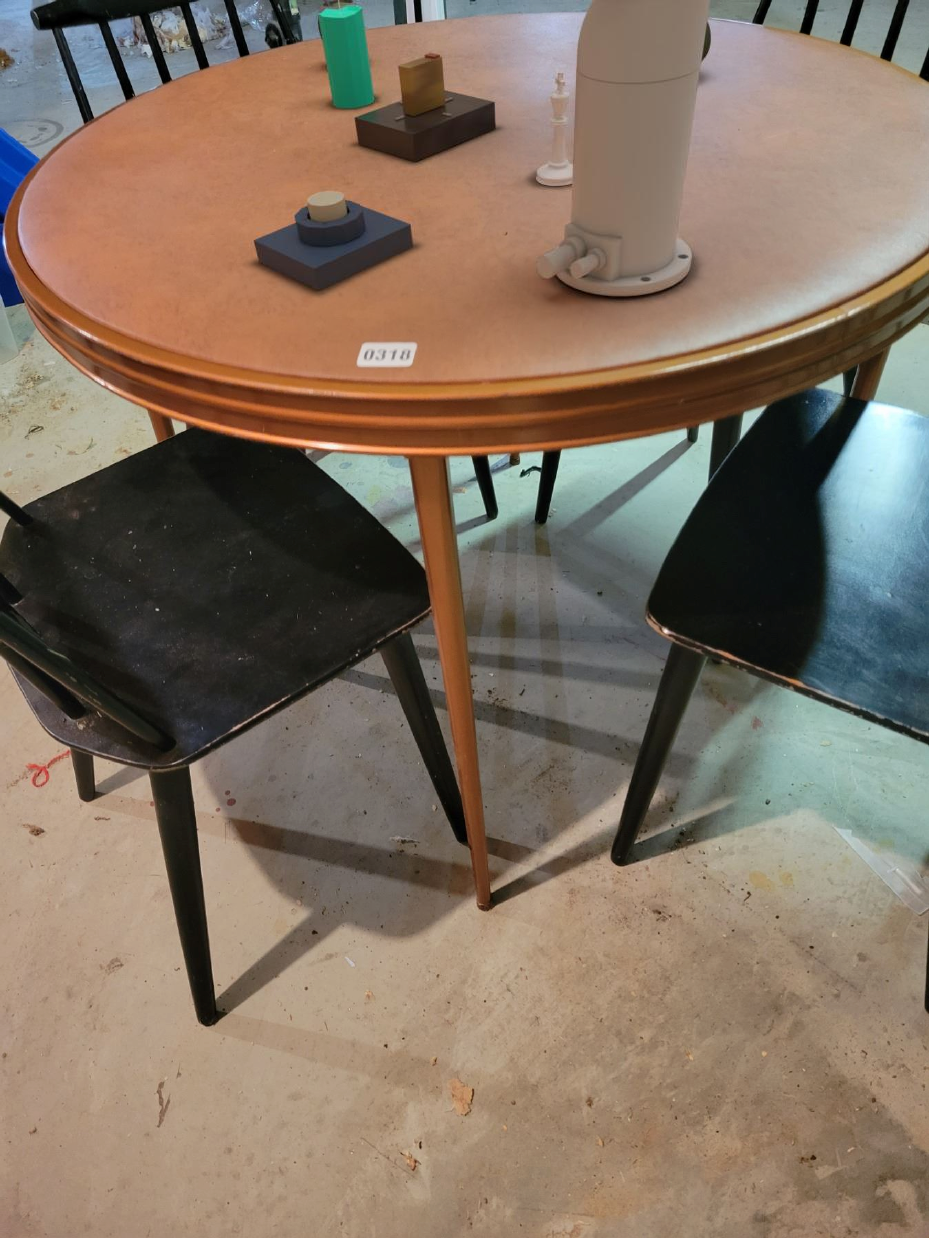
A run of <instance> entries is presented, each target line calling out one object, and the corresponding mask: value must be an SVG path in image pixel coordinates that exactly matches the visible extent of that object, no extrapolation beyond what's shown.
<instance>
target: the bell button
mask: <svg viewBox="0 0 929 1238" xmlns="http://www.w3.org/2000/svg"><path fill="white" fill-rule="evenodd" d="M345 197H346V196H345V194H344V193H343V192H341V191H337V190H324V191H319V192H315V193H313V194H311V195H310V196H308V197H307V199H306V204H307V206H308V209H309V214H310V219H311V220H312V221H314V222H330V221H336V220H339V219H341V218H344V217H346V216H347V215H348V214H347V208H346V203H345V200H346V198H345Z"/></svg>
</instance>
